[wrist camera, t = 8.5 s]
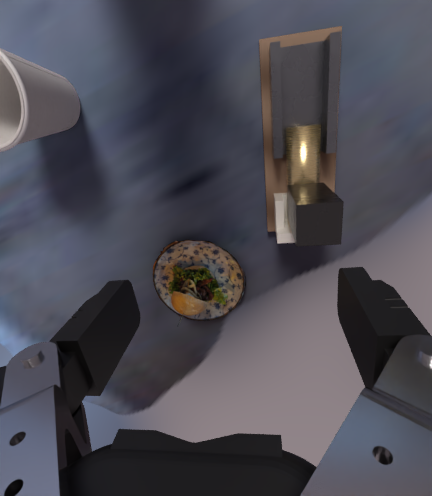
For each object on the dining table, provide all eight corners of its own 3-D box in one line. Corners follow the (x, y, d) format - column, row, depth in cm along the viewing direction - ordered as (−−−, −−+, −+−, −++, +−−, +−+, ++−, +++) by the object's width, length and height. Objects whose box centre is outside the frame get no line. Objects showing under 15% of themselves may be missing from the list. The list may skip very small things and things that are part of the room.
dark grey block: (283, 127, 28) (295, 131, 19) (318, 123, 27) (347, 125, 19) (285, 218, 31) (296, 257, 23) (316, 216, 31) (340, 255, 22)
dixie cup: (6, 103, 33) (-91, 97, 24) (42, 37, 30) (-53, 1, 21) (66, 159, 34) (-3, 173, 25) (107, 102, 31) (45, 95, 22)
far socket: (273, 193, 32) (276, 205, 27) (326, 189, 31) (337, 201, 26) (274, 227, 33) (277, 243, 29) (325, 224, 32) (335, 240, 28)
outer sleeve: (268, 51, 27) (270, 42, 24) (331, 41, 26) (341, 31, 23) (272, 154, 30) (273, 158, 27) (327, 149, 29) (335, 152, 26)
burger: (264, 282, 38) (265, 317, 31) (200, 327, 42) (188, 368, 35) (199, 214, 35) (185, 236, 28) (137, 270, 39) (113, 301, 33)
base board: (259, 42, 27) (259, 39, 26) (338, 30, 26) (341, 26, 25) (267, 228, 34) (267, 231, 33) (330, 224, 33) (332, 227, 32)
